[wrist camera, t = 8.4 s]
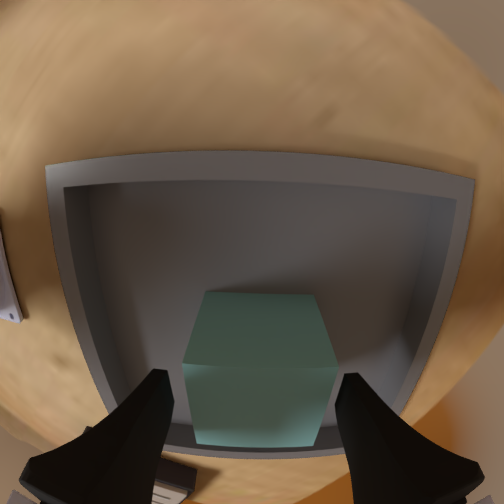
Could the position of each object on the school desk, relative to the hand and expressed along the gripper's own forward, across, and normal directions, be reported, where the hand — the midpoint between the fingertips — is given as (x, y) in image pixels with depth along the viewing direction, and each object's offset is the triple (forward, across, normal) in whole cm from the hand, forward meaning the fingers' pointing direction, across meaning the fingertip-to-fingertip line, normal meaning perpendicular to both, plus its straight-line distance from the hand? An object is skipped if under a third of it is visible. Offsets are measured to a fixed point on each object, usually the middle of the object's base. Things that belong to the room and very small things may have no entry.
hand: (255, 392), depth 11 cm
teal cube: (+4, 0, 0) cm, 4 cm away
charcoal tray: (+4, 0, 0) cm, 4 cm away
